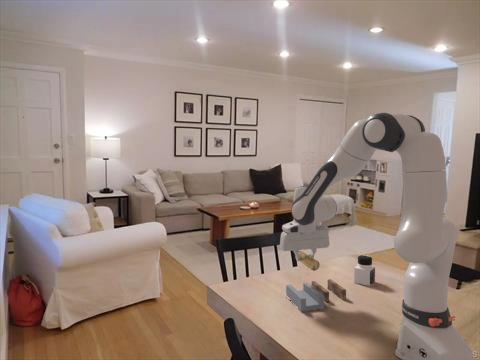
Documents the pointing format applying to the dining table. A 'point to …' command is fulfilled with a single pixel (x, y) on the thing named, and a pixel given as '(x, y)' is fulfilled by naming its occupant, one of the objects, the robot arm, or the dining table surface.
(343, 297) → the pair of brown bars
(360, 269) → the medicine bottle
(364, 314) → the dining table surface
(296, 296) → the cradle
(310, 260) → the axle
